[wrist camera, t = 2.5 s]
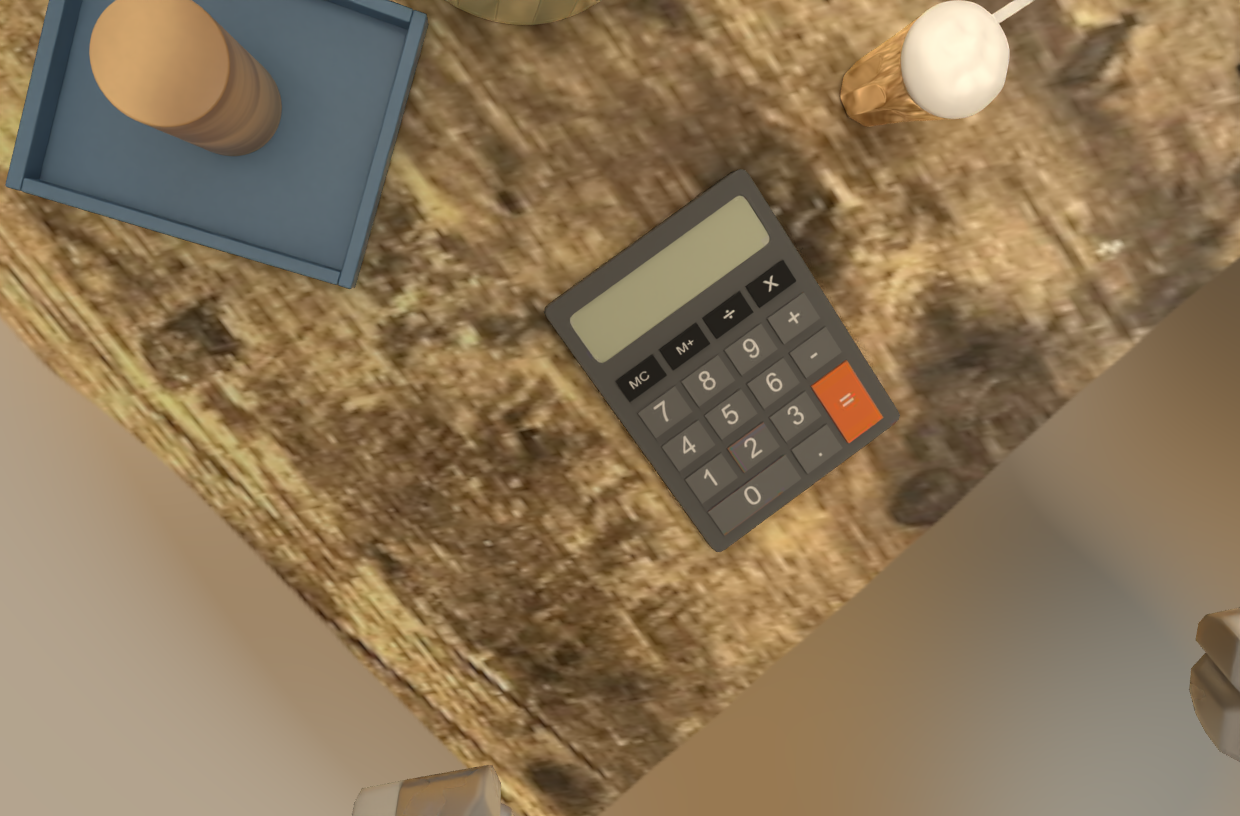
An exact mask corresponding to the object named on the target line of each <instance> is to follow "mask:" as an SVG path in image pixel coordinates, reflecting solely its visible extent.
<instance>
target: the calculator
mask: <svg viewBox="0 0 1240 816" xmlns="http://www.w3.org/2000/svg"><path fill="white" fill-rule="evenodd" d="M544 313H545V315H546V318H547V319H548V320H549V322H550V323H551V325H552V326H553V327H554V329H555V330H556V332H557V333H558V334H559V336H560V337H561V339H562V340H563V341H564V343H565V344H566V346H567V347H568V348H569V350H570V351H571V353H572V354H573V355H574V357H575V358H576V360H577V361H578V362H579V364H580V365H581V367H582V368H583V369H584V371H585V372H586V374H587V375H588V376H589V378H590V379H591V381H592V382H593V383H594V385H595V386H596V388H597V389H598V390H599V392H600V393H601V395H602V396H603V397H604V399H605V400H606V402H607V403H608V404H609V406H610V407H611V409H612V410H613V411H614V413H615V414H616V415H617V417H618V418H619V420H620V421H621V422H622V424H623V425H624V427H625V428H626V429H627V431H628V432H629V434H630V435H631V436H632V438H633V439H634V441H635V442H636V443H637V445H638V446H639V448H640V449H641V450H642V452H643V453H644V455H645V456H646V457H647V459H648V460H649V462H650V463H651V464H652V466H653V467H654V469H655V470H656V471H657V473H658V474H659V476H660V477H661V478H662V480H663V481H664V483H665V484H666V485H667V487H668V488H669V490H670V491H671V492H672V494H673V495H674V497H675V498H676V499H677V501H678V502H679V504H680V505H681V506H682V508H683V509H684V511H685V512H686V513H687V515H688V516H689V518H690V519H691V520H692V522H693V523H694V525H695V526H696V527H697V529H698V530H699V532H700V533H701V534H702V536H703V537H704V539H705V540H706V541H707V543H708V544H709V545H710V546H711V547H712V549H714V550H715V551H716V552H721V551H723V550H725V549H726V548H728V547H729V546H730V545H732V544H733V543H734V542H736V541H737V540H739V539H740V538H741V537H743V536H744V535H745V534H747V533H748V532H749V531H751V530H752V529H753V528H755V527H756V526H757V525H759V524H760V523H761V522H763V521H764V520H765V519H767V518H768V517H770V516H771V515H772V514H774V513H775V512H776V511H778V510H779V509H780V508H782V507H783V506H784V505H786V504H787V503H788V502H790V501H791V500H792V499H794V498H795V497H797V496H798V495H799V494H801V493H802V492H803V491H805V490H806V489H807V488H809V487H810V486H811V485H813V484H814V483H815V482H817V481H818V480H819V479H821V478H822V477H824V476H825V475H826V474H828V473H829V472H830V471H832V470H833V469H834V468H836V467H837V466H838V465H840V464H841V463H842V462H844V461H845V460H846V459H848V458H849V457H850V456H852V455H853V454H855V453H856V452H857V451H859V450H860V449H861V448H863V447H864V446H865V445H867V444H868V443H869V442H871V441H872V440H873V439H875V438H876V437H877V436H879V435H880V434H882V433H883V432H884V431H886V430H887V429H888V428H890V427H891V426H892V425H894V424H895V423H896V422H897V421H898V420H899V416H900V415H899V412H898V410H897V409H896V407H895V405H894V404H893V402H892V401H891V399H890V397H889V396H888V394H887V393H886V391H885V389H884V388H883V386H882V385H881V383H880V382H879V380H878V378H877V377H876V375H875V374H874V372H873V370H872V369H871V367H870V366H869V364H868V363H867V361H866V359H865V358H864V356H863V355H862V353H861V351H860V350H859V348H858V347H857V345H856V344H855V342H854V340H853V339H852V337H851V336H850V334H849V332H848V331H847V329H846V328H845V326H844V324H843V323H842V321H841V320H840V318H839V317H838V315H837V313H836V312H835V310H834V309H833V307H832V305H831V304H830V302H829V301H828V299H827V298H826V296H825V294H824V293H823V291H822V290H821V288H820V286H819V285H818V283H817V282H816V280H815V279H814V277H813V275H812V274H811V272H810V271H809V269H808V267H807V266H806V264H805V263H804V261H803V259H802V258H801V256H800V255H799V253H798V252H797V250H796V248H795V247H794V245H793V244H792V242H791V240H790V239H789V237H788V236H787V234H786V233H785V231H784V229H783V228H782V226H781V225H780V223H779V221H778V220H777V218H776V217H775V215H774V214H773V212H772V210H771V209H770V207H769V206H768V204H767V202H766V201H765V199H764V198H763V196H762V194H761V193H760V191H759V190H758V188H757V187H756V185H755V183H754V182H753V180H752V179H751V177H750V175H749V174H748V173H747V172H746V171H745V170H742V169H739V170H736V171H734V172H731V173H730V174H728V175H727V176H726V177H724V178H723V179H722V180H720V181H719V182H717V183H716V184H715V185H713V186H712V187H710V188H709V189H708V190H706V191H705V192H703V193H702V194H701V195H699V196H698V197H697V198H695V199H694V200H692V201H691V202H690V203H688V204H687V205H685V206H684V207H683V208H681V209H680V210H678V211H677V212H676V213H674V214H673V215H671V216H670V217H669V218H667V219H666V220H665V221H663V222H662V223H660V224H659V225H658V226H656V227H655V228H653V229H652V230H651V231H649V232H648V233H646V234H645V235H644V236H642V237H641V238H640V239H638V240H637V241H635V242H634V243H633V244H631V245H630V246H628V247H627V248H626V249H624V250H623V251H621V252H620V253H619V254H617V255H616V256H615V257H613V258H612V259H610V260H609V261H608V262H606V263H605V264H603V265H602V266H601V267H599V268H598V269H596V270H595V271H594V272H592V273H591V274H589V275H588V276H587V277H585V278H584V279H583V280H581V281H580V282H578V283H577V284H576V285H574V286H573V287H571V288H570V289H569V290H567V291H566V292H564V293H563V294H562V295H560V296H559V297H558V298H556V299H555V300H553V301H552V302H551V303H549V304H548V305H547V306H546V307H545V311H544Z"/></svg>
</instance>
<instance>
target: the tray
mask: <svg viewBox="0 0 1240 816" xmlns="http://www.w3.org/2000/svg"><path fill="white" fill-rule="evenodd" d="M114 1H115V0H49V3H48V7H47V11H46V16H45V20H44V24H43V28H42V33H41V37H40V41H39V45H38V49H37V54H36V58H35V62H34V66H33V71H32V75H31V79H30V83H29V87H28V92H27V96H26V100H25V104H24V109H23V113H22V117H21V121H20V125H19V130H18V134H17V138H16V142H15V147H14V151H13V155H12V159H11V163H10V168H9V172H8V176H7V180H6V187H8V188H12V189H15V190H19V191H22V192H25V193H29V194H32V195H35V196H39V197H42V198H45V199H49V200H52V201H56V202H59V203H62V204H66V205H69V206H72V207H76V208H79V209H82V210H86V211H89V212H93V213H96V214H99V215H103V216H106V217H109V218H113V219H116V220H119V221H123V222H126V223H130V224H133V225H136V226H140V227H143V228H146V229H150V230H153V231H156V232H160V233H163V234H167V235H170V236H173V237H177V238H180V239H183V240H187V241H190V242H193V243H197V244H200V245H204V246H207V247H210V248H214V249H217V250H220V251H224V252H227V253H230V254H234V255H237V256H240V257H244V258H247V259H251V260H254V261H257V262H261V263H264V264H267V265H271V266H274V267H277V268H281V269H284V270H288V271H291V272H294V273H298V274H301V275H304V276H308V277H311V278H314V279H318V280H321V281H325V282H328V283H331V284H335V285H339V286H341V287H345V288H348V289H351V288H355V286H356V283H357V279H358V275H359V272H360V268H361V265H362V261H363V257H364V254H365V250H366V247H367V243H368V239H369V236H370V232H371V229H372V225H373V222H374V218H375V214H376V211H377V207H378V204H379V200H380V196H381V193H382V189H383V186H384V182H385V178H386V175H387V171H388V168H389V164H390V161H391V157H392V153H393V150H394V146H395V143H396V139H397V135H398V132H399V128H400V125H401V121H402V117H403V114H404V110H405V107H406V103H407V99H408V96H409V92H410V89H411V85H412V82H413V78H414V74H415V71H416V67H417V64H418V60H419V56H420V53H421V49H422V46H423V42H424V38H425V35H426V31H427V28H428V20H427V14H425V13H422V12H419V11H417V10H414V11H413V9H411V8H408V7H406V6H403V5H400V4H397V3H395V2H392V1H389V0H192V1H194V2H195V3H196V4H198V5H199V6H201V7H202V8H203V9H204V10H205V11H206V12H207V13H208V14H209V15H210V16H211V17H212V18H214V19H215V20H216V21H217V22H218V23H219V24H220V25H221V26H222V27H223V28H224V29H225V30H226V31H227V32H228V33H229V34H230V35H231V36H232V37H233V38H234V39H235V40H236V41H237V42H238V43H239V44H240V45H241V46H242V47H243V48H244V49H245V50H246V51H248V52H249V53H250V54H251V55H252V56H253V57H254V58H255V59H256V60H257V61H258V62H259V63H260V64H261V65H262V66H263V67H264V68H265V69H266V70H267V71H268V72H269V74H270V75H271V76H272V78H273V79H274V81H275V83H276V85H277V87H278V90H279V93H280V97H281V104H282V112H281V119H280V123H279V125H278V128H277V130H276V132H275V134H274V135H273V137H272V138H271V139H270V140H269V141H268V142H267V143H266V144H265V145H264V146H263V147H261V148H260V149H258V150H256V151H254V152H252V153H249V154H246V155H241V156H225V155H220V154H216V153H213V152H210V151H208V150H206V149H203V148H201V147H198V146H196V145H193V144H191V143H189V142H186V141H184V140H181V139H179V138H177V137H174V136H172V135H169V134H167V133H165V132H162V131H160V130H157V129H155V128H153V127H150V126H148V125H145V124H143V123H140V122H138V121H136V120H134V119H132V118H130V117H128V116H126V115H125V114H124V113H122V112H121V111H119V110H118V109H117V108H116V107H115V106H114V105H112V103H111V102H110V101H109V100H108V99H107V98H106V97H105V95H104V94H103V92H102V91H101V90H100V88H99V86H98V84H97V82H96V80H95V77H94V75H93V72H92V68H91V64H90V55H89V48H90V39H91V35H92V32H93V28H94V26H95V24H96V22H97V20H98V18H99V17H100V15H101V14H102V13H103V11H104V10H105V9H106V8H107V7H108V6H109V5H110V4H112V3H113V2H114Z"/></svg>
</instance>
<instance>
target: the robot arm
mask: <svg viewBox="0 0 1240 816" xmlns="http://www.w3.org/2000/svg"><path fill="white" fill-rule="evenodd" d="M1196 641H1197V642H1198V643H1199V645H1200V646H1201V647H1202V648H1203V649H1204V650H1205V652H1206V653H1205V654H1204V655H1203V656H1202V657H1201V658H1200V659H1199V661H1198V662H1197V663H1196V664H1195V665H1194V666H1193V667H1192V668H1191V677H1190V689H1189V690H1190V694H1191V698H1192V702H1193V705H1194V709H1195V713H1196V715H1197V717H1198V719H1199V721H1200V723H1201V725H1202V727H1203V729H1204V730H1205V732H1206V734H1207V735H1208V736H1209V738H1210V739H1211V740H1212V742H1213V743H1214V744H1215V746H1216V747H1217V748H1218V750H1219V751H1220V752H1222V753H1224V754H1226V755H1228V756H1230V757H1231V758H1233V759H1235V760H1237V761H1239V762H1240V607H1239V608H1234V609H1230V610H1225V611H1221V612H1216V613H1212V614H1207V615H1205V616H1204V618H1203V619H1202V620H1201V621H1200V622H1199V624H1198V629H1197V635H1196ZM352 816H514V814H513V812H512V809H511V808H510V807H508V806H506V805H504V804H502V803H501V782H500V780H499V778H498V776H497V774H496V771H495V769H494V767H493V765H485V766H480V767H474V768H468V769H463V770H458V771H452V772H447V773H441V774H435V775H429V776H425V777H418V778H413V779H407V780H403V781H398V782H393V783H388V784H383V785H377V786H372V787H367V788H362V789H361V791H360V793H359V795H358V797H357V799H356V801H355V803H354V808H353V814H352Z"/></svg>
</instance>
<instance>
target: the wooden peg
mask: <svg viewBox="0 0 1240 816" xmlns="http://www.w3.org/2000/svg"><path fill="white" fill-rule="evenodd" d="M89 55H90V64H91V68H92V72H93V75H94V77H95V80H96V82H97V84H98V86H99V88H100V90H101V91H102V92H103V94H104V95H105V97H106V98H107V99H108V100H109V101H110V102H111V103H112V105H114V106H115V107H116V108H117V109H118V110H119V111H121V112H122V113H124V114H125V115H126V116H128V117H130V118H132V119H134V120H136V121H138V122H140V123H143V124H145V125H148V126H150V127H153V128H155V129H157V130H160V131H162V132H165V133H167V134H169V135H172V136H174V137H177V138H179V139H181V140H184V141H186V142H189V143H191V144H193V145H196V146H198V147H201V148H203V149H206V150H208V151H210V152H213V153H216V154H220V155H225V156H241V155H246V154H249V153H252V152H254V151H256V150H258V149H260V148H261V147H263V146H264V145H265V144H266V143H267V142H268V141H269V140H270V139H271V138H272V137H273V135H274V134H275V132H276V130H277V128H278V125H279V123H280V119H281V112H282V104H281V97H280V93H279V90H278V87H277V85H276V83H275V81H274V79H273V78H272V76H271V75H270V74H269V72H268V71H267V70H266V69H265V68H264V67H263V66H262V65H261V64H260V63H259V62H258V61H257V60H256V59H255V58H254V57H253V56H252V55H251V54H250V53H249V52H248V51H246V50H245V49H244V48H243V47H242V46H241V45H240V44H239V43H238V42H237V41H236V40H235V39H234V38H233V37H232V36H231V35H230V34H229V33H228V32H227V31H226V30H225V29H224V28H223V27H222V26H221V25H220V24H219V23H218V22H217V21H216V20H215V19H214V18H212V17H211V16H210V15H209V14H208V13H207V12H206V11H205V10H204V9H203V8H202V7H201V6H199V5H198V4H196V3H195V2H194V1H192V0H115V1H114V2H113V3H112V4H110V5H109V6H108V7H107V8H106V9H105V10H104V11H103V13H102V14H101V15H100V17H99V18H98V20H97V22H96V24H95V26H94V28H93V32H92V35H91V39H90V48H89Z"/></svg>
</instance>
